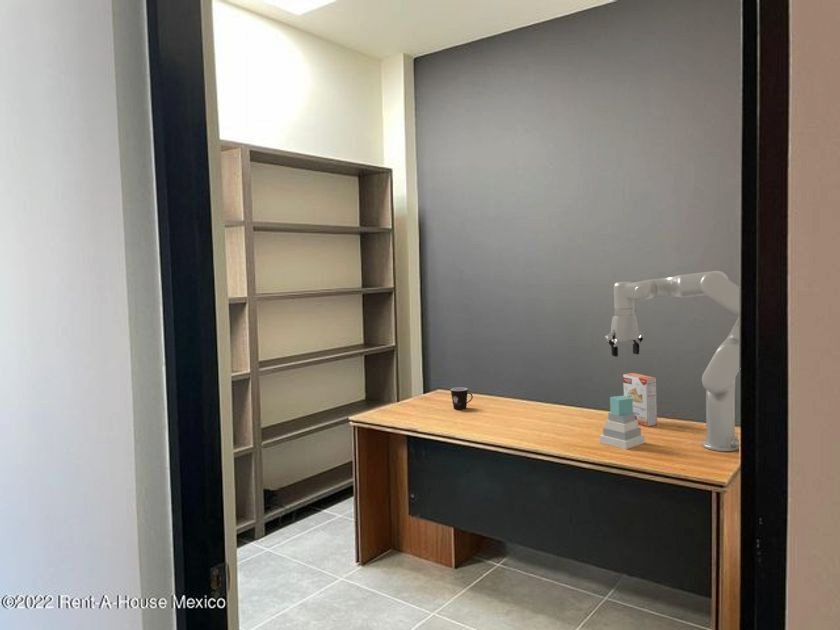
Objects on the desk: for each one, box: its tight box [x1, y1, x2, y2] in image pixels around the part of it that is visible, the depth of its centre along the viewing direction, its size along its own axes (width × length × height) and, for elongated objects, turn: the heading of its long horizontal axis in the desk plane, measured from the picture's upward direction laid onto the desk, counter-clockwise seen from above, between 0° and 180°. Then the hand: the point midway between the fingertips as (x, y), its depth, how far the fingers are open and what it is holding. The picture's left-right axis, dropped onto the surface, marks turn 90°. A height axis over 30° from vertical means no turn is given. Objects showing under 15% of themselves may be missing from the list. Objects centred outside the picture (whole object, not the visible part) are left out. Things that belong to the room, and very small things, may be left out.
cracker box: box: [622, 372, 658, 428], centre depth 262 cm, size 14×6×21 cm, turn 24°
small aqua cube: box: [609, 395, 633, 416], centre depth 235 cm, size 6×6×6 cm
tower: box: [599, 411, 646, 450], centre depth 236 cm, size 12×12×12 cm
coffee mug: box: [450, 386, 474, 411], centre depth 304 cm, size 12×9×10 cm
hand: (625, 355), depth 242 cm, fingers open, 9 cm apart
